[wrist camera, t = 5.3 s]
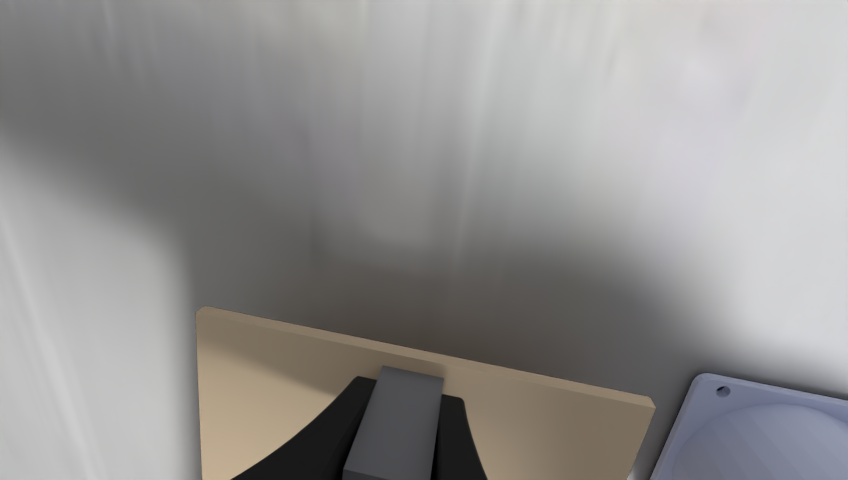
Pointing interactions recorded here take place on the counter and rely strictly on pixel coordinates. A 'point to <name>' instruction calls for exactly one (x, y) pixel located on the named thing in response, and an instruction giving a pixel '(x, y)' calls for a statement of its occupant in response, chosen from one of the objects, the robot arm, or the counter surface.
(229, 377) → the sliding lid
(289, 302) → the counter surface
